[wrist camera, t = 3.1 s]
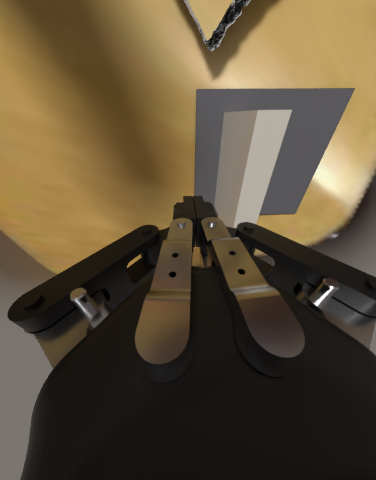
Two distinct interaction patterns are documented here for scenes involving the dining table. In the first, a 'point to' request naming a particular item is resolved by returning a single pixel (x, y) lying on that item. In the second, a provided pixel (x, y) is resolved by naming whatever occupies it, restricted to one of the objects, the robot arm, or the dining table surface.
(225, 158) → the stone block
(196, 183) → the rubber mat
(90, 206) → the dining table surface
